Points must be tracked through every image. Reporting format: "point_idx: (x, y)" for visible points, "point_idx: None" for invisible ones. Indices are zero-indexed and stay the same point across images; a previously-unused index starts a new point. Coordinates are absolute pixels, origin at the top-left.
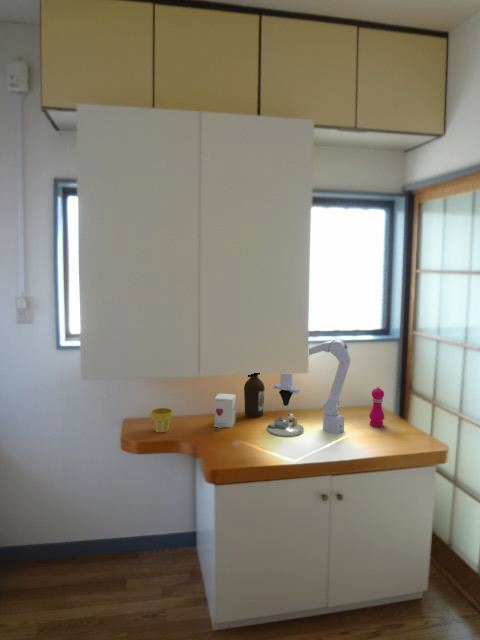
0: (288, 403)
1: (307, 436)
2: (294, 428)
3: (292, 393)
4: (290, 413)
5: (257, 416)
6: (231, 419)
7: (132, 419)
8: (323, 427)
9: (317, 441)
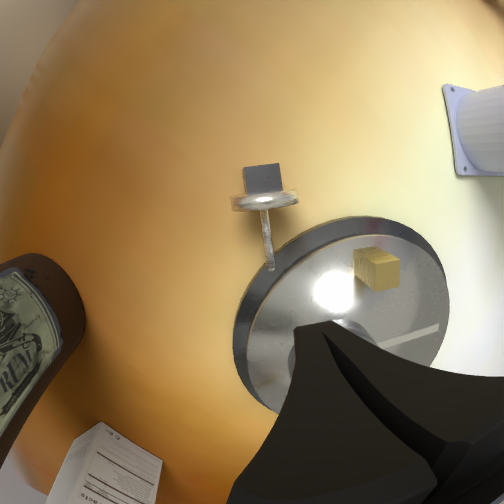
0: (343, 329)
1: (452, 275)
2: (407, 315)
3: (501, 390)
4: (262, 199)
5: (77, 333)
6: (155, 492)
7: (33, 485)
8: (484, 163)
9: (491, 279)
